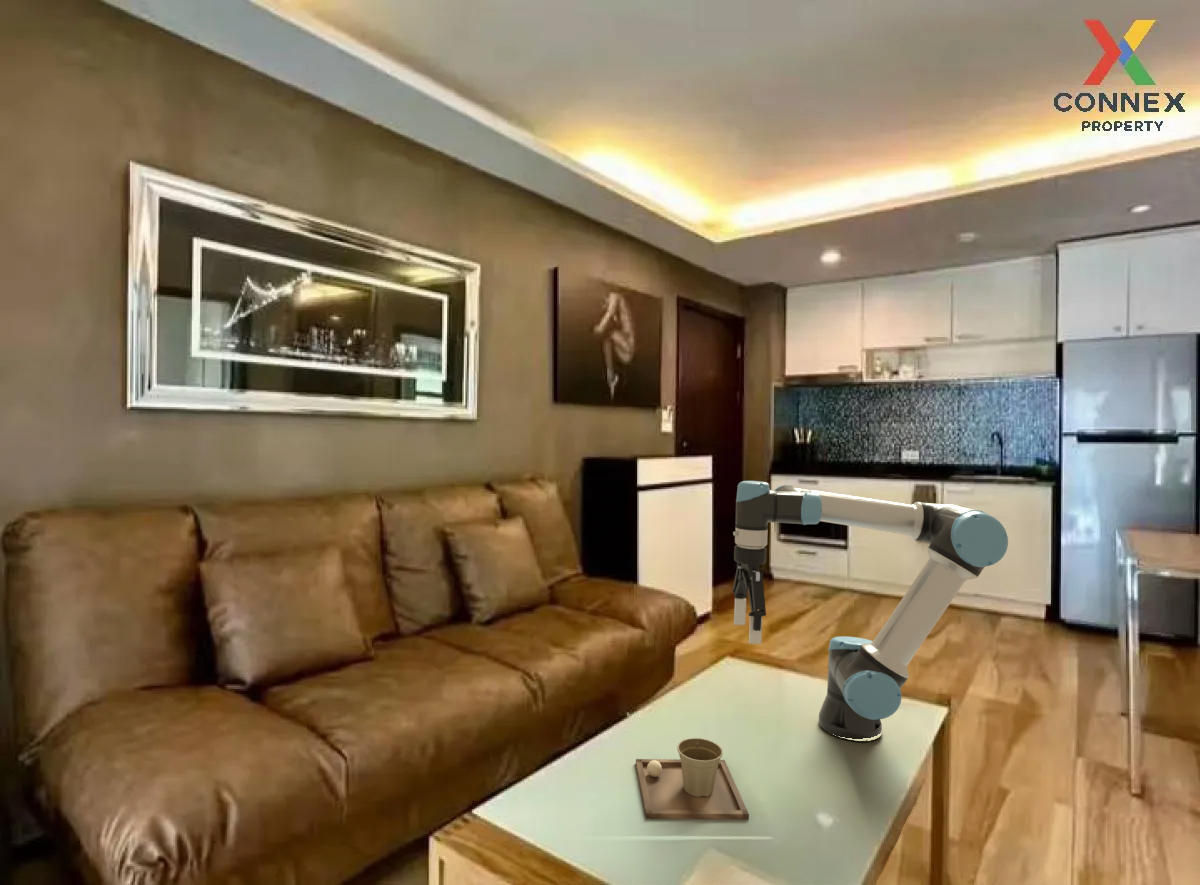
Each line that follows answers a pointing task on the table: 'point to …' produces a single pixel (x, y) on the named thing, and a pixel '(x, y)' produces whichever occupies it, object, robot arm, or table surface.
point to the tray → (673, 802)
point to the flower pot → (699, 765)
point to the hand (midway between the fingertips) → (746, 633)
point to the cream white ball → (654, 768)
